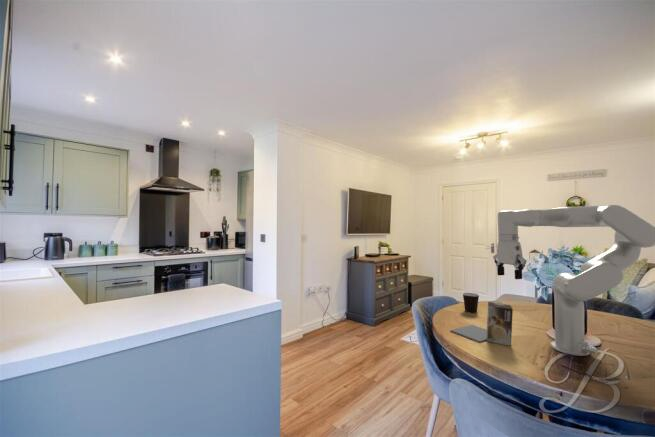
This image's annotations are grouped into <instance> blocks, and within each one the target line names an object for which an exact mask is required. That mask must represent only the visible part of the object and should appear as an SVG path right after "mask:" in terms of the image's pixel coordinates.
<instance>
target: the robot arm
mask: <svg viewBox="0 0 655 437" xmlns="http://www.w3.org/2000/svg"><path fill="white" fill-rule="evenodd" d="M519 227H525V228H531V227H557V228H594V227H595V228H600V227H601V228H603V227H604V228H605V227H607V228H611V229H612V230H614V231H615V232H614V242H613V245H612V246H611V247H610V249H608V250H606V251H605V252H602V253H601V254H600V255H597V256H595V257H593V258H592V259H590V260H588V261H585V262H584V263H583V264H581V266H580V268H579V271H580V272H579V274H574V273H572V272H561V273H558V274H556V276H555V277H554V278H553V282H552V289H553V297H554V298H553V299H554V340H552V341H551V342H550V347H551V348H552V349H554V350H555V351H558V352H561V353H562V354H563V353H564V354H568V355H570V356H576V357H577V356H579V357H583V356H589V355H590V354H593V355H597V354H598V353H599V352H598V349H597V348H596V347H595V346H593V345H589V344H588V341H587V340H585V304H584V303H585V302H587V301H590V300H592V299H594V298H597V297H599V296H601V295H602V294H604V293H606V292H609V291H610V290H613V289H615V288H616V287H618V286H619V285H620V284H621V283H622V281H623V279H624V271H625V270H627V269H628V268H630V267H632V266H633V265H634V264H636V262H637V261H638V260H639V258H640V255H641V251H642V249H643V248H646V249H647V248H651V247H654V246H655V226H653V224H651V223H650V222H647V221H646V220H645V219H643V218H642V217H640V216H639V215H637V214H636V213H634V212H632V211H630V210H629V209H627V208H626V207H623V206H622V205H618V204H608V205H589V206H588V205H587V206H586V205H585V206H583V205H582V206H564V207H563V206H562V207H556V208H546V209H530V208H529V209H522V210H500V211H499V212H498V213H497V233H498V234H497V236H498V241H497V245H496V254H495V255H493V256H492V258H493V261H494V263H495V266H496V267H497V268H496V271H497V276H505V266H504V265H510V266H513V267H514V268H515V269H514V279H515V280H522V279H523V271H524V268H525V267H526V264H527V262H528V261H527V260H526V259H525V258H524V256H523V250H522V249H523V248H522V245H521V243H520V241H519V239H520V236H519Z"/></svg>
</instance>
